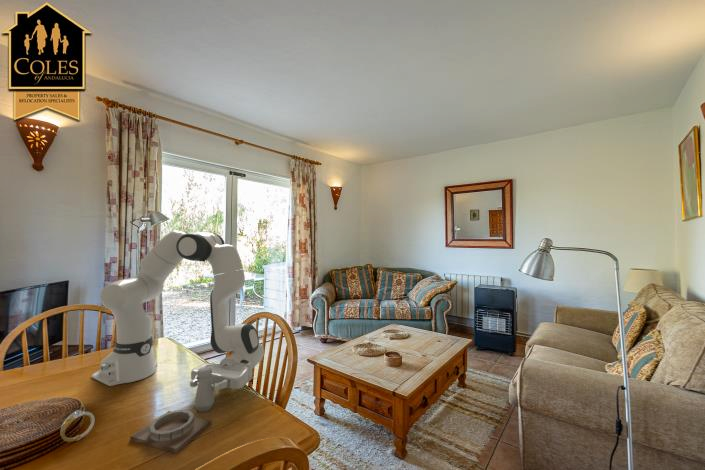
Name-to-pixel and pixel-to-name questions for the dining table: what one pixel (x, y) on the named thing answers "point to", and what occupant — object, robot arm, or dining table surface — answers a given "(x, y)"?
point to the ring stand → (171, 431)
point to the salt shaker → (204, 390)
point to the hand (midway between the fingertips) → (202, 386)
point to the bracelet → (72, 416)
